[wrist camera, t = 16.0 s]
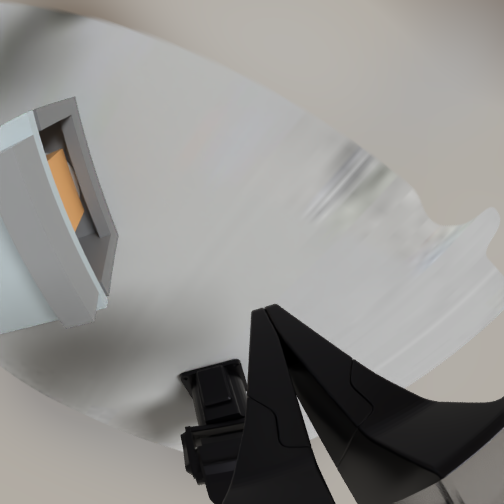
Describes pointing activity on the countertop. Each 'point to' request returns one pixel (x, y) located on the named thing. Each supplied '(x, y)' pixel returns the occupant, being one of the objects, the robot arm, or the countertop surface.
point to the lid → (38, 240)
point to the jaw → (65, 186)
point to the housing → (81, 184)
